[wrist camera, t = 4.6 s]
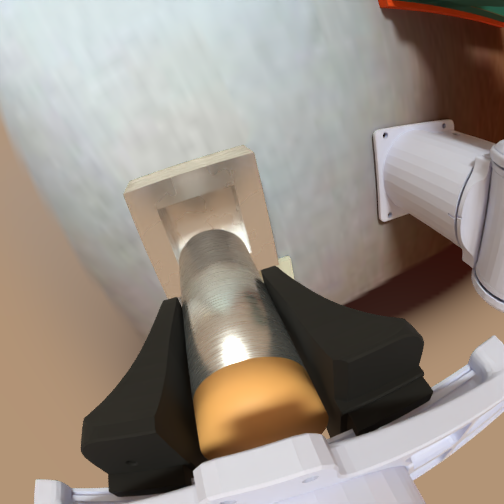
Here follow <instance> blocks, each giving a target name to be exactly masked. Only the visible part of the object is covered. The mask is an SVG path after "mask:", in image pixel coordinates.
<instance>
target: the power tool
mask: <svg viewBox="0 0 504 504" xmlns="http://www.w3.org/2000/svg"><path fill="white" fill-rule="evenodd" d="M378 2H379V5H380V8H390V9H403V10H413V11H422V12H429V13H436V14H442V15H448V16H454V17H459V18H464V19H469V20H473V21H477V22H482V23H486V24H489V25H493V26H497V27H504V0H378Z"/></svg>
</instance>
